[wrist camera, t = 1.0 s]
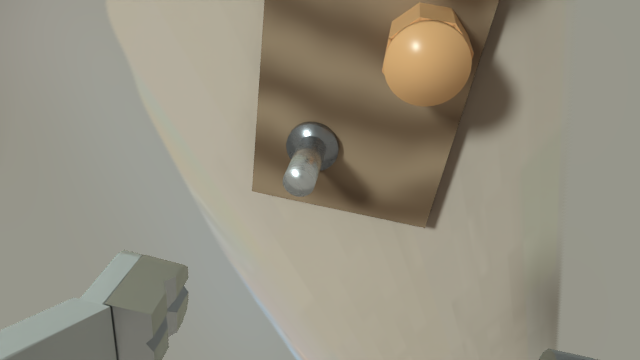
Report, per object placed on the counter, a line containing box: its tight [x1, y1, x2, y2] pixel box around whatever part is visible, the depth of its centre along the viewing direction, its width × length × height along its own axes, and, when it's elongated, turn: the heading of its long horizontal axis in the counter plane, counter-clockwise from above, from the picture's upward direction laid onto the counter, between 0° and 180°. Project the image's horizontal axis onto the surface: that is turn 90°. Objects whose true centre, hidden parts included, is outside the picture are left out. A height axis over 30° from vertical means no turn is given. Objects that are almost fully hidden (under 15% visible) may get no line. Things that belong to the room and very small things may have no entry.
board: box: [252, 0, 499, 228], centre depth 38 cm, size 20×16×2 cm
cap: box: [382, 2, 474, 107], centre depth 32 cm, size 5×5×5 cm
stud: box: [283, 122, 339, 197], centre depth 38 cm, size 4×4×6 cm
